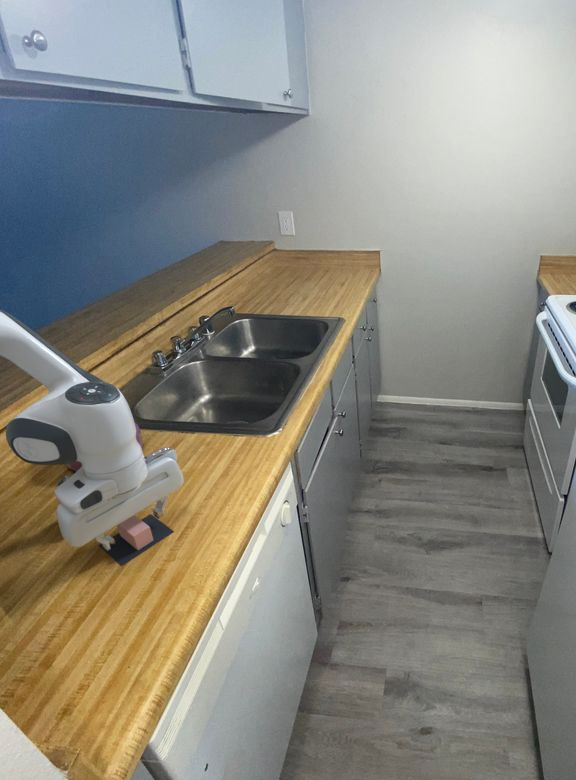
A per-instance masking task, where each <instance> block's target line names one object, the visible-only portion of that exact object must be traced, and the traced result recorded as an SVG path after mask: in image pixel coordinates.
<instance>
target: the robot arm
mask: <svg viewBox="0 0 576 780" xmlns="http://www.w3.org/2000/svg"><path fill="white" fill-rule="evenodd" d="M0 357H2V358H4V359H7V360H8V361H10V362H11V363H13V364H14V365H16V366H17V367H18V368H20V369H21V370H22V371H23V372H25V373H27V375H29V376H31V377H32V378H33V379H35V380H36V381H37V382H39V383H40V384H41V385H42V386H44V387H45V388H47V390H48V393H47V394H46V395H45V396H43V397H41V398H40V399H38V400H37V401H35V402H33V403H32V404H31V405H29V406H28V407H26V408H25V409H24V410H22V411H21V412H19V413H18V414H17V415H15V416H14V417H13V418H12V419H11V420H10V421H9V422H8V423H7V425H6V426H5V438H6V441H7V445H8V446H9V448H10V450H11V451H12V452H13V454H15V456H16V457H18V458H19V459H20V460H21V461H23V462H25V463H27V464H31V465H36V466H58V465H66V464H68V463H73V462H75V461H79V462H81V464H82V467H81V468H80V469H79V470H78V471H75V472H74V473H73V474H72V475H71V476H69V477H70V478H69V479H67V480H66V481H65V482H63V483H62V484H61V485H60V486H58V485H57V487H56V488H55V489H54V491H53V492H54V496H55V497H56V499H57V501H59V503H58V505H57V509H56V519H57V523H58V527H59V530H60V535H61V536H62V538H63V540H64V541H65V542H66V543H67V544H68V545H70V546H71V547H74V548H81V547H84V546H85V545H86V544H88V543H89V542H92V541H93V540H95V541H96V542H97V543H100V544H101V543H102V545H103V547H104V548H105V549H106V550H107V551H108V550H109V549H111V548H113V547H114V546H116V543H115V540H114V539H113V538H112V537H113V536H111V535H110V534H108V535H105V533H107V532H109V531H110V530H112V529H114V528H115V527H117V525H119V524H120V523H122V522H124V521H125V520H127V519H129V518H130V517H132V516H134V515H135V516H136V515H137V514H139V513H141V512H142V511H144V510H146V509H148V508H149V507H151V506H152V505H154V504H155V506H154V507H153V508H151V511H152V512H153V513H152V515H153V516H154V517H155V518H157V519H158V520H159V519H161V518H162V517H164V516H166V515H167V513H166V506H167V504H168V501H169V496H170V495H171V494H172V493H173V494H174V492H176V491H178V490H179V489H181V488H182V487H183V486H184V482H185V478H184V475H183V473H182V470H181V468H180V465H179V464H178V455H177V452H176V449H175V448H173V447H166V446H164V447H161V448H159V449H157V450H156V451H154V452H152V453H149V454H147V455H144V452H143V447H142V448H141V446H140V444H139V443H138V442H137V440H136V426H135V423H136V422H135V419H134V417H133V413H132V411H131V408H130V405H129V403H128V401H127V398H125V396H124V394H123V393H122V392H121V391H120V389H119V388H118V387H117V386H116V385H114V384H112V383H108V382H105V380H103V379H101V378H100V377H98V376H97V375H94V374H93V373H90V372H89V371H87V370H86V369H84V368H82V367H81V366H79V365H78V364H76V363H75V362H74V361H72V360H71V359H70V358H68V356H66V355H65V354H63V353H62V352H61V351H59V349H57V348H56V347H54V346H53V345H52V344H50V343H49V342H48V341H47V340H45V339H44V338H43V337H42V336H40V335H39V334H38V333H37V332H36V331H34V330H33V329H31V328H30V327H29V326H27V325H26V324H25V323H23V322H22V321H21V320H19V319H18V318H16V317H15V316H14V315H12V314H11V313H8V312H7V311H5V310H3V309H1V308H0ZM134 422H135V423H134Z"/></svg>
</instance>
